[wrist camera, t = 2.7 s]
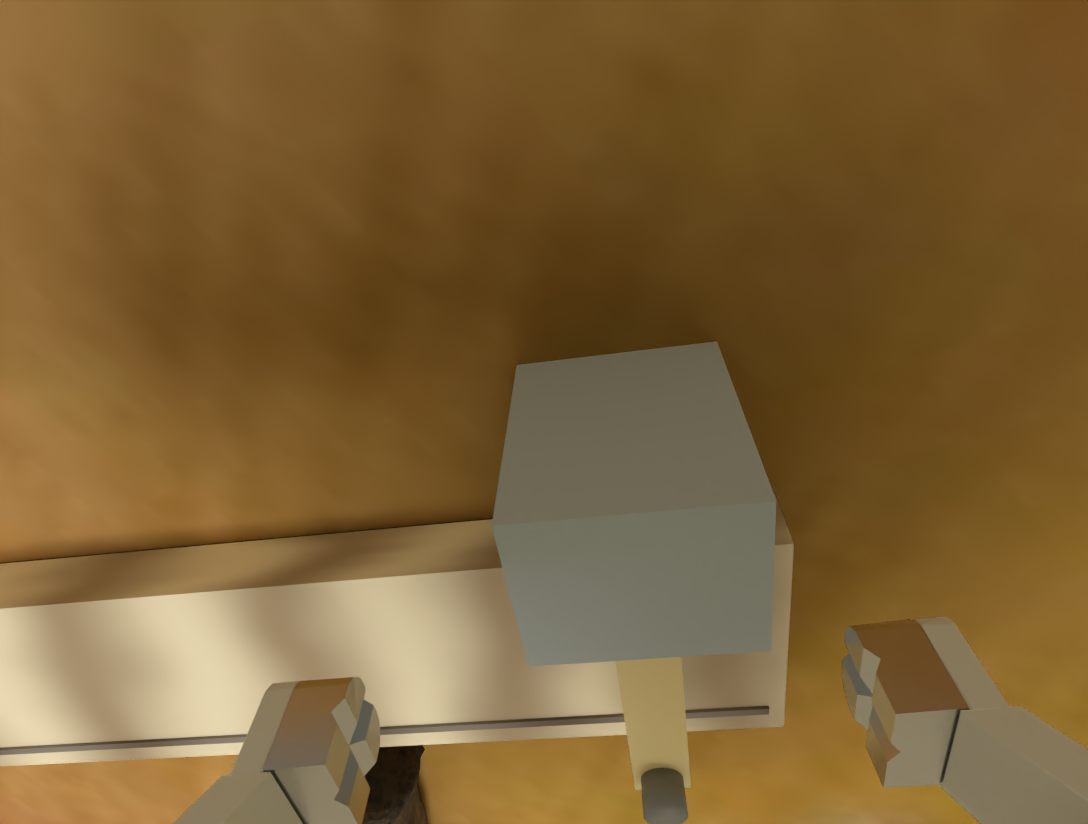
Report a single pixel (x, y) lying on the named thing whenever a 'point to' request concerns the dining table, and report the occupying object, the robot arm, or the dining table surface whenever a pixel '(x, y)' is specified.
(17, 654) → the board
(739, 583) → the grey mallet
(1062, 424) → the dining table surface
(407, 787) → the rusty railroad spike
